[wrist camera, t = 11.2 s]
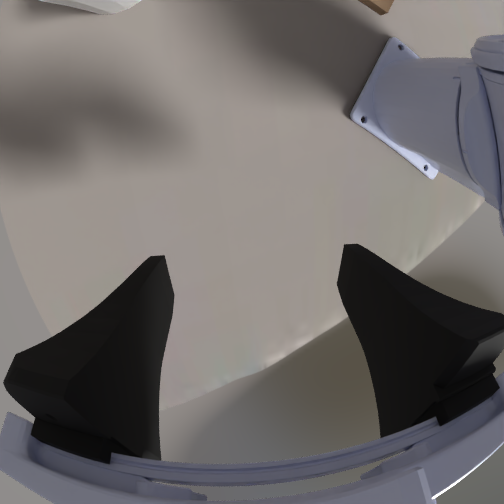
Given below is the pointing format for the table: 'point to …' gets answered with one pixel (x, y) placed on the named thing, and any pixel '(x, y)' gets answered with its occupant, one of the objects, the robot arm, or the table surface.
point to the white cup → (97, 5)
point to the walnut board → (378, 5)
